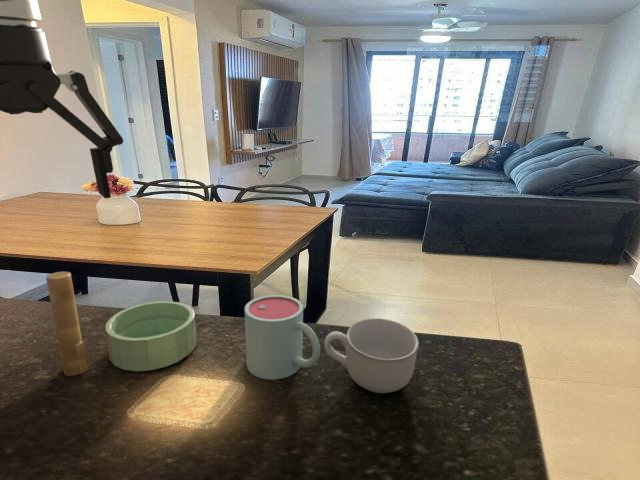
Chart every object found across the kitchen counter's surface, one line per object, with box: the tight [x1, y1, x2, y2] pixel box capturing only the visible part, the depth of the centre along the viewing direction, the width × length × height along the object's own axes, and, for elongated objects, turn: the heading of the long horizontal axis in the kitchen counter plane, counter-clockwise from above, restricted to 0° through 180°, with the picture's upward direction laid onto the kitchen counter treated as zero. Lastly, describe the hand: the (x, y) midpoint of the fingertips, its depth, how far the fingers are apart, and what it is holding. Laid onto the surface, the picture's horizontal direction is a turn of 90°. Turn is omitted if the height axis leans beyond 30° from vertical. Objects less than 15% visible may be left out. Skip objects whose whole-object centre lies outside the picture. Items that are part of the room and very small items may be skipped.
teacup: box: [324, 317, 420, 394], centre depth 59 cm, size 14×11×8 cm
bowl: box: [105, 300, 197, 372], centre depth 65 cm, size 14×14×6 cm
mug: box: [244, 294, 321, 380], centre depth 61 cm, size 14×9×10 cm
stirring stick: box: [45, 271, 89, 377], centre depth 57 cm, size 4×3×16 cm
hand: (49, 205), depth 51 cm, fingers open, 13 cm apart
